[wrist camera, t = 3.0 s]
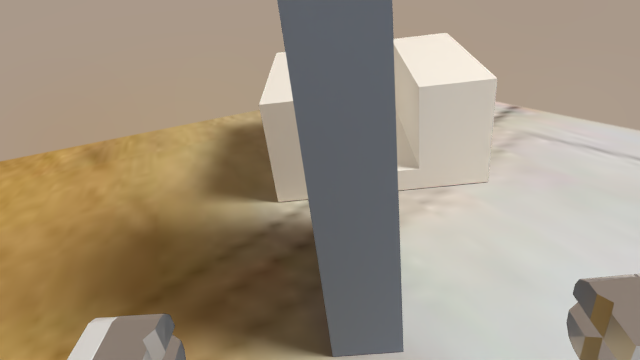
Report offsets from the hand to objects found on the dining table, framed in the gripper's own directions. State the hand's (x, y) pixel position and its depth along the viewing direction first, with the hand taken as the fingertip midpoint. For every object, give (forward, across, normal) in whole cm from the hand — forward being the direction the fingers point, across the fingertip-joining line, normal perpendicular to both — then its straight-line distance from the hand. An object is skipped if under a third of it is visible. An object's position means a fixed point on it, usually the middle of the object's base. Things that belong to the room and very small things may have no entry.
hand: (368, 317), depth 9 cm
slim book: (+11, 0, +9) cm, 14 cm away
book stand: (+25, -2, +9) cm, 26 cm away
